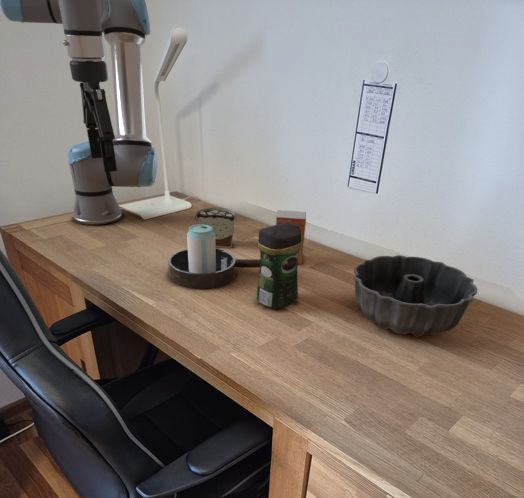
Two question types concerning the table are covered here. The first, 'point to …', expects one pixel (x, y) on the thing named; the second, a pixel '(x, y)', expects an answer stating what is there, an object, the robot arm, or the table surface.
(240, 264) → the skillet handle
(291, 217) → the small box
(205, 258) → the can
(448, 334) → the table surface
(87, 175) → the robot arm
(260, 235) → the coffee jar
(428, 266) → the bundt pan
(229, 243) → the food container
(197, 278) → the skillet
